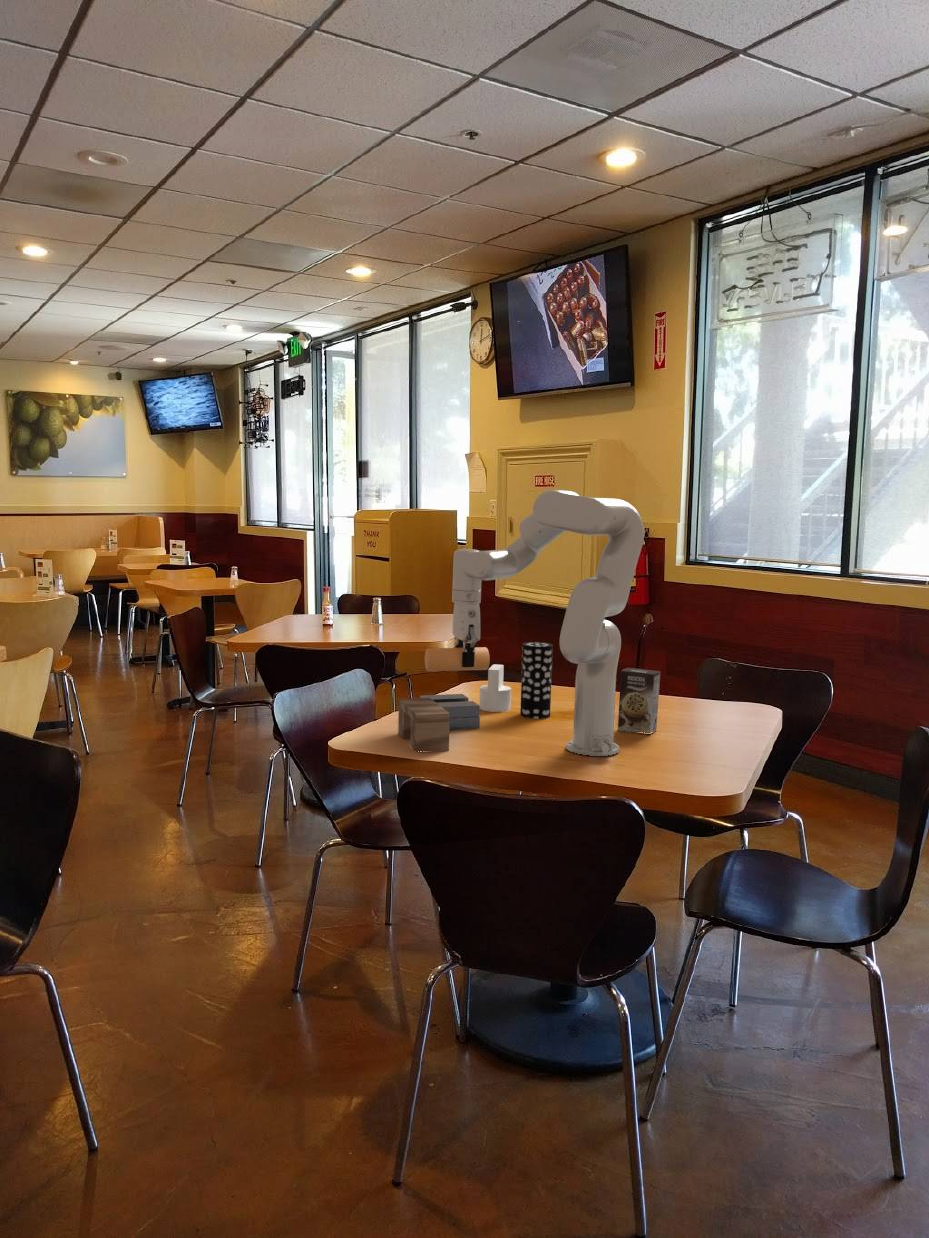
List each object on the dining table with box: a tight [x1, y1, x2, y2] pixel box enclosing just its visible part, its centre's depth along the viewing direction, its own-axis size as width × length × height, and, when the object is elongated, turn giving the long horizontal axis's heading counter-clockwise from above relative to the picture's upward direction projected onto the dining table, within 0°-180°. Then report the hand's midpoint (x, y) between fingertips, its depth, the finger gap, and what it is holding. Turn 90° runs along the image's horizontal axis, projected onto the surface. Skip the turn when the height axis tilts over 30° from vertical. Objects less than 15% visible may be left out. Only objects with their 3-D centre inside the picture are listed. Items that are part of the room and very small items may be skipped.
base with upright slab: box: [478, 663, 512, 713], centre depth 262 cm, size 9×9×12 cm
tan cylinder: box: [424, 646, 491, 672], centre depth 240 cm, size 6×16×6 cm, turn 108°
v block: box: [419, 693, 481, 731], centre depth 244 cm, size 16×12×6 cm
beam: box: [397, 697, 450, 753], centre depth 223 cm, size 18×8×9 cm, turn 17°
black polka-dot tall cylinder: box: [519, 641, 554, 720], centre depth 254 cm, size 8×8×20 cm
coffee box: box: [617, 667, 661, 733], centre depth 239 cm, size 9×6×16 cm
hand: (463, 663), depth 241 cm, fingers closed on tan cylinder, 6 cm apart
